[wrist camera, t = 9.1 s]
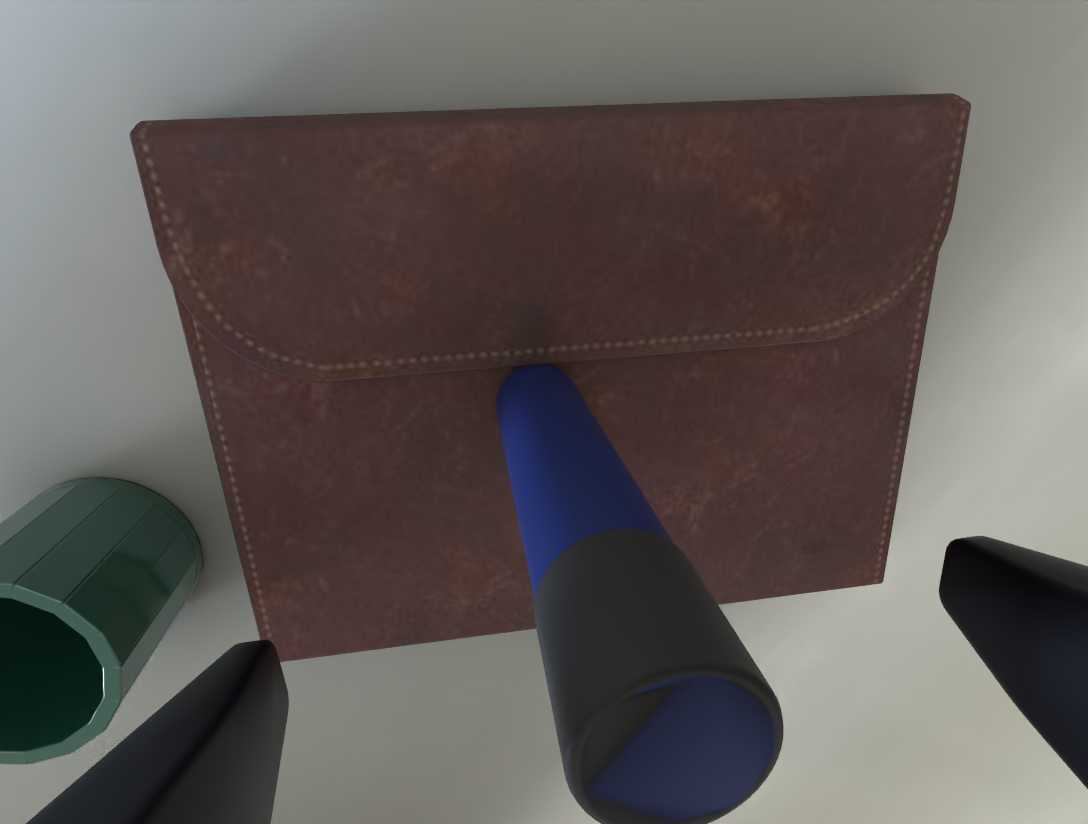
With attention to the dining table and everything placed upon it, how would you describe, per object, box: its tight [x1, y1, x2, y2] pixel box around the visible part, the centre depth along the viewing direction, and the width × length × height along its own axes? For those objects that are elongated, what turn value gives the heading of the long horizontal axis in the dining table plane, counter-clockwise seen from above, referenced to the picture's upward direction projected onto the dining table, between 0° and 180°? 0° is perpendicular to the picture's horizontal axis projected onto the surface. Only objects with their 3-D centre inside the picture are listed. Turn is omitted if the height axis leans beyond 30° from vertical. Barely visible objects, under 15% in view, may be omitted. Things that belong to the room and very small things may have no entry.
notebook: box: [130, 94, 971, 662], centre depth 18 cm, size 15×20×2 cm
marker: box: [496, 364, 783, 824], centre depth 11 cm, size 2×2×11 cm
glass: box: [0, 478, 202, 764], centre depth 16 cm, size 5×5×5 cm
